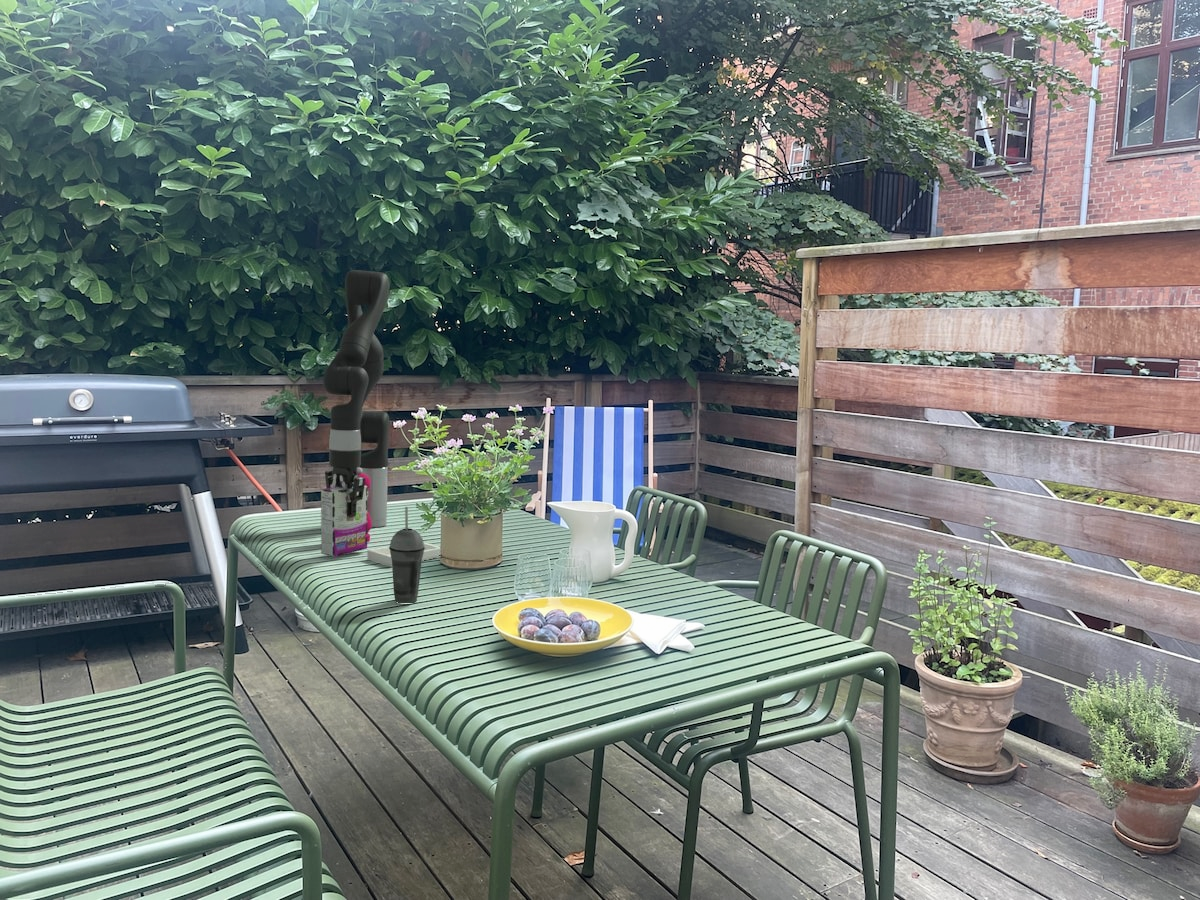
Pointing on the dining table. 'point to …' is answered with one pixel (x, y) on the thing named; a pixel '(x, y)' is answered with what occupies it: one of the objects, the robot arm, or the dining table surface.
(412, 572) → the beverage cup
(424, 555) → the tray
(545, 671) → the dining table surface
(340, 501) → the candy bar box
